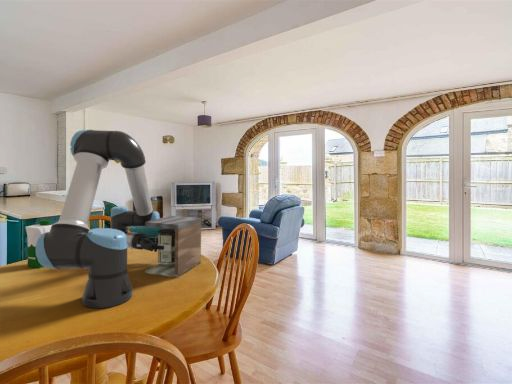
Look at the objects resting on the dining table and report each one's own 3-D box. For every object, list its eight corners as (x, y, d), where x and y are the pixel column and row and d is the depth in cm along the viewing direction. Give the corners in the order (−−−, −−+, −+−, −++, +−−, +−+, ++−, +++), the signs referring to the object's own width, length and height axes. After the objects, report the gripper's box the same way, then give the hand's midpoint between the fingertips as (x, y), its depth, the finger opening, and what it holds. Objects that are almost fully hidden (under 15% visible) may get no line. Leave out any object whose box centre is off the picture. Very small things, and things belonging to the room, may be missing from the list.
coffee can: (179, 256, 136) (179, 228, 135) (182, 263, 126) (182, 232, 126) (157, 258, 132) (157, 229, 131) (158, 265, 123) (158, 233, 122)
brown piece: (145, 272, 121) (145, 222, 120) (171, 259, 140) (171, 215, 139) (177, 277, 116) (178, 224, 115) (200, 263, 136) (201, 217, 134)
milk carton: (58, 263, 130) (57, 220, 129) (37, 269, 122) (36, 223, 120) (44, 261, 133) (43, 219, 132) (23, 266, 124) (22, 222, 123)
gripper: (151, 243, 145) (190, 247, 139) (118, 255, 123) (163, 260, 117) (151, 228, 144) (190, 232, 138) (118, 238, 123) (163, 242, 117)
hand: (177, 245), depth 128 cm, fingers closed on coffee can, 10 cm apart
